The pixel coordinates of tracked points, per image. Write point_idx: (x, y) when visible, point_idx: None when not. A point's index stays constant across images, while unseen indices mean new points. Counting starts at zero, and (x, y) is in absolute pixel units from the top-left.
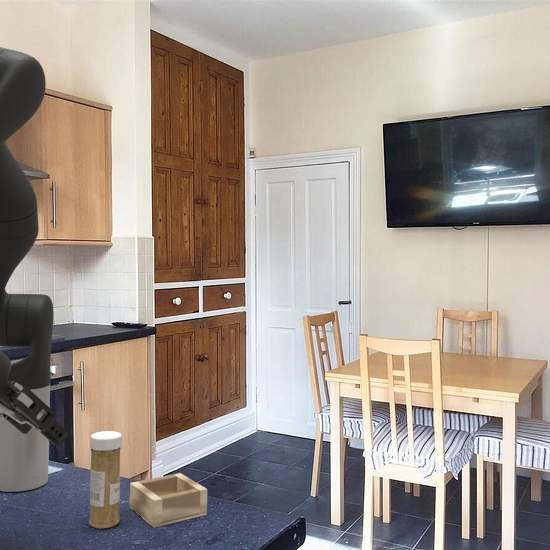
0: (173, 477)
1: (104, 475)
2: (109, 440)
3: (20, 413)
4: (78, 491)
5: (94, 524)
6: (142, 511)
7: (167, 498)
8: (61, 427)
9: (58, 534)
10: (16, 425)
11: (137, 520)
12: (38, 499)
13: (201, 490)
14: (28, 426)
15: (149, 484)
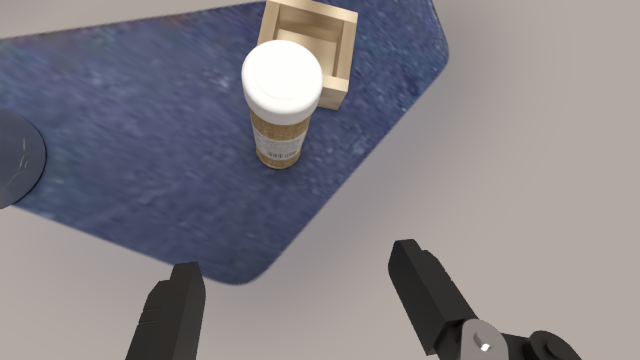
0: (278, 9)
1: (305, 132)
2: (321, 91)
3: (182, 344)
4: (124, 106)
5: (286, 167)
6: None
7: (349, 72)
8: (429, 266)
9: (266, 215)
10: (197, 344)
11: None
12: (103, 173)
13: (356, 21)
14: (199, 287)
15: None
